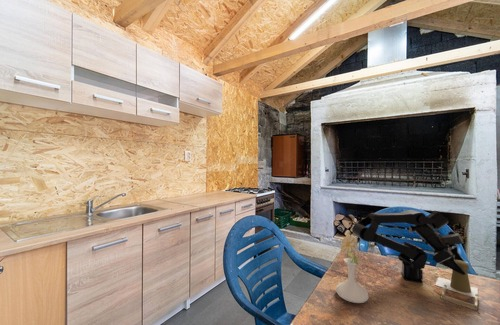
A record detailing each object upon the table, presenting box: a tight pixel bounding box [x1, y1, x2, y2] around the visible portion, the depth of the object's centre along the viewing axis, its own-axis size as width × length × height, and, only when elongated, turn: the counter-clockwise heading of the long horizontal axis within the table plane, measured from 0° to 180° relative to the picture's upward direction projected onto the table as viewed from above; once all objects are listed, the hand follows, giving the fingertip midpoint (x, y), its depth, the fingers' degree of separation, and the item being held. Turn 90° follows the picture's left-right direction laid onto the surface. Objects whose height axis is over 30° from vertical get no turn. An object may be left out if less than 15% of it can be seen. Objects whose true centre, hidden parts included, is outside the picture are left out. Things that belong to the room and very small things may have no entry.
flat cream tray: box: [440, 285, 479, 311], centre depth 79 cm, size 9×9×2 cm
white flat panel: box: [434, 276, 479, 299], centre depth 87 cm, size 9×12×1 cm
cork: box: [450, 260, 471, 293], centre depth 85 cm, size 6×6×11 cm
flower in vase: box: [335, 233, 369, 304], centre depth 81 cm, size 13×11×25 cm
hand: (465, 270), depth 84 cm, fingers open, 9 cm apart
